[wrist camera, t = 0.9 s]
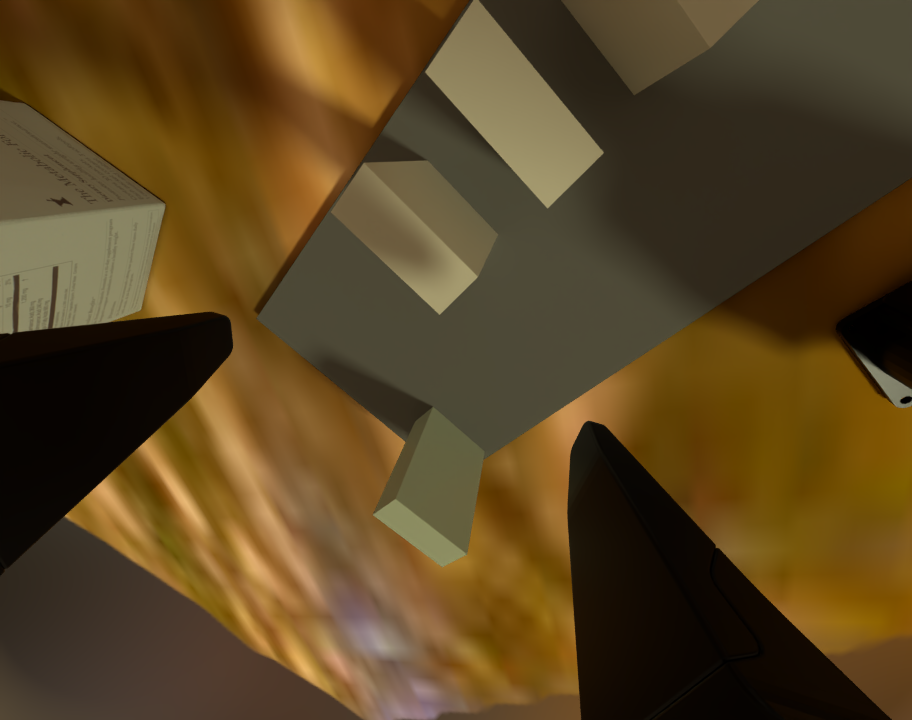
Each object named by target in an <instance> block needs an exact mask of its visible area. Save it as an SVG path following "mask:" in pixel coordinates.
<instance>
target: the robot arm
mask: <svg viewBox="0 0 912 720" xmlns="http://www.w3.org/2000/svg"><path fill="white" fill-rule="evenodd" d="M851 325H854V327H853V328H852V329H851V330H848V328H849V327H850V326H851ZM847 330H848V331H847ZM836 331H837V333H838V334H839V336H840V337H841V338H842V340H843V341H844V342H845V344H846V345H847V346H848V348H849V349H850V350H851V352H852V353H853V354H854V356H855V357H856V358H857V360H858V361H859V362H860V363H861V365H862V366H863V367H864V369H865V370H866V371H867V373H868V374H869V375H870V377H871V378H872V379H873V381H874V382H875V383H876V385H877V386H878V387H879V389H880V390H881V391H882V393H883V394H884V395H885V397H886V398H887V399H888V401H889V402H891V403H892V404H894V405H895V406H897V407H900V408H906V407H909V406H912V281H911V282H909V283H907V284H905V285H904V286H902V287H900V288H898V289H896V290H895V291H893V292H891V293H889V294H887V295H886V296H884V297H882V298H880V299H878V300H877V301H875V302H873V303H871V304H869V305H868V306H866V307H864V308H862V309H860V310H859V311H857V312H855V313H853V314H851V315H850V316H848V317H846V318H844V319H843V320H841V321H840V322H839V323H838V324H837V326H836ZM232 349H233V339H232V330H231V322H230V319H229V318H228V317H227V316H225V315H221V314H218V313H215V312H203V313H193V314H184V315H174V316H165V317H155V318H146V319H136V320H127V321H117V322H108V323H98V324H89V325H79V326H70V327H60V328H51V329H41V330H32V331H22V332H14V333H12V334H9V333H2V334H0V576H1V575H2V574H3V573H4V572H5V569H7V568H9V567H10V566H11V565H12V564H13V563H14V562H15V561H16V560H17V559H19V558H20V556H22V555H23V554H24V553H25V552H26V551H27V550H28V549H29V548H30V547H32V545H34V544H35V543H36V542H37V541H38V540H39V539H40V538H41V537H42V536H43V535H44V534H46V533H47V532H48V531H49V530H50V529H51V528H52V527H53V526H54V525H55V524H56V523H57V522H58V521H60V520H61V519H62V518H63V517H64V516H65V515H66V514H67V513H68V512H69V511H70V510H71V509H73V508H74V507H75V506H76V505H77V504H78V503H79V502H80V501H81V500H82V499H83V498H84V497H86V496H87V495H88V494H89V493H90V492H91V491H92V490H93V489H94V488H95V487H96V486H97V485H98V484H100V483H101V482H102V481H103V480H104V479H105V478H106V477H107V476H108V475H109V474H110V473H111V472H113V471H114V470H115V469H116V468H117V467H118V466H119V465H120V464H121V463H122V462H123V461H124V460H126V459H127V458H128V457H129V456H130V455H131V454H132V453H133V452H134V451H135V450H136V449H137V448H138V447H140V446H141V445H142V444H143V443H144V442H145V441H146V440H147V439H148V438H149V437H150V436H151V435H153V434H154V433H155V432H156V431H157V430H158V429H159V428H160V427H161V426H162V425H163V424H164V423H165V422H167V421H168V420H169V419H170V418H171V417H172V416H173V415H174V414H175V413H176V412H177V411H178V410H180V409H181V408H182V407H183V406H184V405H185V404H186V403H187V402H188V401H189V400H190V399H191V398H192V397H193V396H194V395H195V394H196V393H197V392H198V390H199V389H200V388H201V387H202V386H203V385H204V384H205V383H206V381H207V380H208V379H209V378H210V377H211V376H212V375H213V373H214V372H215V371H216V370H217V369H218V368H219V367H220V366H221V364H222V363H223V362H224V361H225V360H226V359H227V358H228V356H229V355H230V354H231V352H232ZM903 397H904V398H903ZM901 398H903V399H901ZM567 514H568V533H569V547H570V562H571V577H572V591H573V606H574V621H575V636H576V650H577V665H578V680H579V695H580V709H581V720H892V719H890V718H889V717H888V716H887V715H886V714H885V713H884V712H883V711H882V710H881V709H880V708H879V707H878V706H877V705H876V704H875V703H873V702H872V701H871V700H870V699H869V698H868V697H867V696H866V695H865V694H864V693H863V692H862V691H861V690H860V689H859V688H858V687H857V686H856V685H855V684H854V683H853V682H852V681H851V680H850V679H849V678H848V677H847V676H846V675H844V674H843V672H842V671H841V670H839V669H838V668H837V667H836V666H835V665H834V664H833V663H832V662H831V661H830V660H829V659H828V658H827V657H826V656H825V655H824V654H823V653H822V652H821V651H820V650H819V649H818V648H817V647H816V646H815V645H814V644H813V643H812V642H811V641H810V640H809V639H807V638H806V637H805V636H804V635H803V634H802V633H801V632H800V631H799V630H798V629H797V628H796V627H795V626H794V625H793V624H792V623H791V622H790V621H789V620H788V619H787V618H786V617H785V616H784V615H783V614H782V613H781V612H780V611H779V610H778V609H777V608H776V607H775V606H774V605H773V604H772V603H771V602H770V601H769V600H768V599H767V598H766V597H765V596H764V595H763V594H762V593H761V592H760V591H759V590H758V589H757V588H756V587H755V586H754V585H753V584H752V583H751V582H750V581H749V580H748V579H747V578H746V577H745V576H744V575H743V573H742V572H741V571H740V570H739V569H738V568H737V567H736V566H735V565H734V564H733V563H732V562H731V561H730V560H729V559H728V557H727V556H726V555H725V554H724V553H723V552H722V551H721V550H720V549H719V548H716V545H715V544H714V543H713V541H712V540H711V539H710V538H709V537H708V536H707V535H706V534H705V533H704V532H703V531H702V530H701V529H700V527H699V526H698V525H697V524H696V523H695V522H694V521H693V520H692V519H691V518H690V517H689V516H688V515H687V513H686V512H685V511H684V510H683V509H682V508H681V507H680V506H679V505H678V504H677V503H676V502H675V501H674V499H673V498H672V497H671V496H670V495H669V494H668V493H667V492H666V491H665V490H664V489H663V488H662V487H661V485H660V484H659V483H658V482H657V481H656V480H655V479H654V478H653V477H652V476H651V475H650V474H649V473H648V471H647V470H646V469H645V468H644V467H643V466H642V465H641V464H640V463H639V462H638V461H637V460H636V459H635V457H634V456H633V455H632V454H631V453H630V452H629V451H628V450H627V449H626V448H625V447H624V446H623V445H622V444H621V442H620V441H619V440H618V439H617V438H616V437H615V436H614V435H613V434H612V433H611V432H610V431H609V430H608V428H607V427H606V426H604V425H602V424H599V423H595V422H592V421H587V422H585V423H584V425H583V426H582V428H581V430H580V432H579V434H578V436H577V438H576V440H575V442H574V444H573V447H572V450H571V455H570V471H569V489H568V511H567Z"/></svg>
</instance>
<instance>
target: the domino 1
mask: <svg viewBox="0 0 912 720" xmlns="http://www.w3.org/2000/svg"><path fill="white" fill-rule="evenodd" d="M331 213H332V214H333V215H334V216H335V217H336V218H337V219H338V220H339V221H341V222H342V223H343V224H344V225H345V226H346V227H347V228H348V229H349V230H350V231H351V232H352V233H353V234H354V235H355V236H356V237H358V238H359V239H360V240H361V241H362V242H363V243H364V244H365V245H366V246H367V247H368V248H369V249H370V250H371V251H372V252H373V253H375V254H376V255H377V256H378V257H379V258H380V259H381V260H382V261H383V262H384V263H385V264H386V265H387V266H388V267H389V268H390V269H391V270H393V271H394V272H395V273H396V274H397V275H398V276H399V277H400V278H401V279H402V280H403V281H404V282H405V283H406V284H407V285H408V286H410V287H411V288H412V289H413V290H414V291H415V292H416V293H417V294H418V295H419V296H420V297H421V298H422V299H423V300H424V301H425V302H427V303H428V304H429V305H430V306H431V307H432V308H433V309H434V310H435V311H436V312H437V313H438V314H439V315H440V314H441V313H442V312H443V311H444V310H445V309H446V308H447V307H448V306H449V305H450V304H451V303H452V302H453V301H454V300H455V299H456V298H457V297H458V296H459V295H460V294H461V293H462V292H463V291H464V290H465V289H466V288H467V287H468V286H469V285H470V284H471V283H472V282H473V281H474V280H475V279H476V278H477V277H478V276H479V274H480V272H481V270H482V268H483V265H484V263H485V261H486V259H487V257H488V255H489V253H490V251H491V249H492V246H493V244H494V242H495V240H496V238H497V236H498V234H497V233H496V232H495V231H494V230H493V229H492V227H491V226H490V225H489V224H488V223H487V222H486V221H485V220H484V219H483V218H482V217H481V216H480V215H479V214H478V213H477V212H476V211H475V210H474V209H473V208H472V206H471V205H470V204H469V203H468V202H467V201H466V200H465V199H464V198H463V197H462V196H461V195H460V194H459V193H458V192H457V191H456V190H455V189H454V188H453V187H452V185H451V184H450V183H449V182H448V181H447V180H446V179H445V178H444V177H443V176H442V175H441V174H440V173H439V172H438V171H437V170H436V169H435V168H434V167H433V166H432V164H431V163H430V162H429V161H428V160H427V161H399V162H370V163H363V165H362V166H361V168H360V169H359V171H358V172H357V174H356V175H355V177H354V178H353V180H352V181H351V183H350V184H349V186H348V187H347V188H346V190H345V191H344V193H343V194H342V196H341V197H340V199H339V200H338V202H337V203H336V205H335V206H334V208H333V209H332V211H331Z"/></svg>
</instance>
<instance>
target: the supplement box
mask: <svg viewBox="0 0 912 720" xmlns="http://www.w3.org/2000/svg"><path fill="white" fill-rule="evenodd" d="M164 210H165V203H163V202H162V201H161V200H159V199H158V198H156V197H155V196H154V195H152V194H151V193H149V192H148V191H147V190H145V189H144V188H142V187H141V186H140V185H138V184H137V183H135V182H134V181H133V180H131V179H130V178H128V177H127V176H126V175H124V174H123V173H121V172H120V171H119V170H117V169H116V168H115V167H113V166H112V165H110V164H109V163H108V162H106V161H105V160H103V159H102V158H101V157H99V156H98V155H96V154H95V153H94V152H92V151H91V150H89V149H88V148H87V147H85V146H84V145H82V144H81V143H80V142H78V141H77V140H75V139H74V138H73V137H71V136H70V135H69V134H67V133H66V132H64V131H63V130H62V129H60V128H59V127H57V126H56V125H55V124H53V123H52V122H50V121H49V120H48V119H46V118H45V117H43V116H42V115H41V114H39V113H38V112H36V111H35V110H34V109H32V108H31V107H29V106H28V105H26V104H25V103H17V102H9V101H2V100H0V334H2V333H9V334H12V333H14V332H22V331H32V330H41V329H51V328H60V327H70V326H79V325H89V324H98V323H108V322H111V321H113V320H116V319H118V318H121V317H124V316H127V315H129V314H132V313H135V312H137V311H140V310H141V308H142V303H143V299H144V295H145V290H146V286H147V282H148V278H149V273H150V269H151V265H152V260H153V256H154V252H155V247H156V243H157V239H158V235H159V231H160V226H161V222H162V218H163V214H164Z"/></svg>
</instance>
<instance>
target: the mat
mask: <svg viewBox="0 0 912 720" xmlns="http://www.w3.org/2000/svg"><path fill="white" fill-rule="evenodd" d="M479 1H480V3H481V4H482V5H483V6H484V8H485V9H486V10H487V11H488V12H489V14H490V15H491V16H492V17H493V18H494V20H495V21H496V22H497V23H498V25H499V26H500V27H501V28H502V29H503V31H504V32H505V33H506V34H507V36H508V37H509V38H510V39H511V40H512V42H513V43H514V44H515V45H516V46H517V48H518V49H519V50H520V51H521V53H522V54H523V55H524V56H525V57H526V59H527V60H528V61H529V62H530V63H531V65H532V66H533V67H534V68H535V70H536V71H537V72H538V73H539V74H540V76H541V77H542V78H543V79H544V81H545V82H546V83H547V84H548V85H549V87H550V88H551V89H552V90H553V91H554V93H555V94H556V95H557V96H558V98H559V99H560V100H561V101H562V102H563V104H564V105H565V106H566V107H567V108H568V110H569V111H570V112H571V113H572V115H573V116H574V117H575V118H576V119H577V121H578V122H579V123H580V124H581V126H582V127H583V128H584V129H585V130H586V132H587V133H588V134H589V135H590V136H591V138H592V139H593V140H594V141H595V143H596V144H597V145H598V146H599V147H600V149H601V150H602V151H603V152H604V153H603V154H602V155H601V156H600V157H599V158H598V159H597V160H596V161H595V162H594V163H593V164H592V165H591V166H590V167H589V168H588V169H587V170H586V171H585V172H584V173H583V174H582V175H581V176H580V177H579V178H578V179H577V180H576V181H575V182H574V183H573V184H572V185H571V186H570V187H569V188H568V189H567V190H566V191H565V192H564V193H563V194H562V195H561V196H560V197H559V198H558V199H557V200H556V201H555V202H554V203H553V204H552V205H551V206H550V207H549V208H547V207H546V206H545V205H544V204H543V203H542V202H541V201H540V200H539V199H538V197H537V196H536V195H535V194H534V193H533V192H532V191H531V190H530V188H529V187H528V186H527V185H526V184H525V183H524V182H523V181H522V180H521V178H520V177H519V176H518V175H517V174H516V173H515V172H514V171H513V170H512V168H511V167H510V166H509V165H508V164H507V163H506V162H505V161H504V160H503V158H502V157H501V156H500V155H499V154H498V153H497V152H496V151H495V149H494V148H493V147H492V146H491V145H490V144H489V143H488V142H487V141H486V139H485V138H484V137H483V136H482V135H481V134H480V133H479V132H478V131H477V129H476V128H475V127H474V126H473V125H472V124H471V123H470V122H469V121H468V119H467V118H466V117H465V116H464V115H463V114H462V113H461V112H460V111H459V109H458V108H457V107H456V106H455V105H454V104H453V103H452V102H451V100H450V99H449V98H448V97H447V96H446V95H445V94H444V93H443V92H442V90H441V89H440V88H439V87H438V86H437V85H436V84H435V83H434V82H433V80H432V79H431V78H430V77H429V76H428V75H427V74H426V73H425V71H426V70H427V68H428V67H429V65H430V64H431V62H432V61H433V60H434V58H435V57H436V55H437V54H438V52H439V51H440V49H441V48H442V46H443V45H444V43H445V42H446V40H447V39H448V37H449V36H450V34H451V33H452V31H453V30H454V28H455V27H456V25H457V24H458V22H459V21H460V20H461V18H462V17H463V15H464V14H465V12H466V11H467V9H468V8H469V6H470V5H471V3H472V2H473V0H470V1H469V2H468V4H467V5H466V7H465V8H464V10H463V11H462V13H461V14H460V16H459V17H458V19H457V20H456V22H455V23H454V25H453V26H452V28H451V29H450V31H449V32H448V34H447V35H446V37H445V38H444V40H443V41H442V43H441V44H440V46H439V47H438V49H437V50H436V52H435V53H434V55H433V56H432V58H431V59H430V61H429V62H428V64H427V65H426V66H425V68H424V69H423V71H422V72H421V74H420V75H419V77H418V78H417V80H416V81H415V83H414V84H413V86H412V87H411V89H410V90H409V92H408V93H407V95H406V96H405V98H404V99H403V101H402V102H401V104H400V105H399V107H398V108H397V110H396V111H395V113H394V114H393V116H392V117H391V119H390V120H389V122H388V123H387V125H386V126H385V128H384V129H383V131H382V132H381V134H380V135H379V137H378V138H377V140H376V141H375V143H374V144H373V146H372V147H371V149H370V150H369V152H368V153H367V154H366V156H365V157H364V159H363V160H362V162H361V163H360V165H359V166H358V168H357V169H356V171H355V172H354V174H353V175H352V177H351V178H350V180H349V181H348V183H347V184H346V186H345V187H344V189H343V190H342V192H341V193H340V195H339V196H338V198H337V199H336V201H335V202H334V204H333V205H332V207H331V208H330V210H329V211H328V213H327V214H326V216H325V217H324V219H323V220H322V222H321V223H320V225H319V226H318V228H317V229H316V231H315V232H314V234H313V235H312V237H311V238H310V240H309V241H308V242H307V244H306V245H305V247H304V248H303V250H302V251H301V253H300V254H299V256H298V257H297V259H296V260H295V262H294V263H293V265H292V266H291V268H290V269H289V271H288V272H287V274H286V275H285V277H284V278H283V280H282V281H281V283H280V284H279V286H278V287H277V289H276V290H275V292H274V293H273V295H272V296H271V298H270V299H269V301H268V302H267V304H266V305H265V307H264V308H263V310H262V311H261V313H260V314H259V316H258V317H257V319H258V320H259V321H260V322H261V323H262V324H264V325H265V326H266V327H267V328H268V329H270V330H271V331H272V332H273V333H274V334H276V335H277V336H278V337H279V338H281V339H282V340H283V341H284V342H285V343H287V344H288V345H289V346H290V347H291V348H293V349H294V350H295V351H296V352H298V353H299V354H300V355H301V356H302V357H304V358H305V359H306V360H307V361H308V362H310V363H311V364H312V365H313V366H314V367H316V368H317V369H318V370H319V371H321V372H322V373H323V374H324V375H325V376H327V377H328V378H329V379H330V380H331V381H333V382H334V383H335V384H336V385H338V386H339V387H340V388H341V389H342V390H344V391H345V392H346V393H347V394H348V395H350V396H351V397H352V398H353V399H354V400H356V401H357V402H358V403H359V404H361V405H362V406H363V407H364V408H365V409H367V410H368V411H369V412H370V413H371V414H373V415H374V416H375V417H376V418H377V419H379V420H380V421H381V422H382V423H384V424H385V425H386V426H387V427H388V428H390V429H391V430H392V431H393V432H394V433H396V434H397V435H398V436H399V437H401V438H402V439H403V440H404V441H405V442H406V440H407V438H408V436H409V434H410V432H411V429H412V427H413V425H414V423H415V421H416V420H418V419H419V418H420V417H421V416H422V415H424V414H425V413H426V412H427V411H429V410H430V409H431V408H432V407H434V408H435V409H436V410H438V411H439V412H440V413H441V414H442V415H443V416H444V417H446V418H447V419H448V420H449V421H450V422H451V423H453V424H454V425H455V426H456V427H457V428H458V429H459V430H461V431H462V432H463V433H464V434H465V435H466V436H467V437H469V438H470V439H471V440H472V441H473V442H474V443H476V444H477V445H478V446H479V447H480V448H481V449H482V450H484V451H485V452H484V458H483V460H484V459H485V458H487V457H488V456H490V455H491V454H493V453H494V452H496V451H497V450H499V449H501V448H502V447H504V446H505V445H507V444H508V443H510V442H511V441H513V440H514V439H516V438H517V437H519V436H520V435H522V434H523V433H525V432H526V431H528V430H529V429H531V428H532V427H534V426H535V425H537V424H538V423H540V422H541V421H543V420H545V419H546V418H548V417H549V416H551V415H552V414H554V413H555V412H557V411H558V410H560V409H561V408H563V407H564V406H566V405H567V404H569V403H570V402H572V401H573V400H575V399H576V398H578V397H579V396H581V395H582V394H584V393H586V392H587V391H589V390H590V389H592V388H593V387H595V386H596V385H598V384H599V383H601V382H602V381H604V380H605V379H607V378H608V377H610V376H611V375H613V374H614V373H616V372H617V371H619V370H620V369H622V368H623V367H625V366H626V365H628V364H630V363H631V362H633V361H634V360H636V359H637V358H639V357H640V356H642V355H643V354H645V353H646V352H648V351H649V350H651V349H652V348H654V347H655V346H657V345H658V344H660V343H661V342H663V341H664V340H666V339H667V338H669V337H671V336H672V335H674V334H675V333H677V332H678V331H680V330H681V329H683V328H684V327H686V326H687V325H689V324H690V323H692V322H693V321H695V320H696V319H698V318H699V317H701V316H702V315H704V314H705V313H707V312H708V311H710V310H711V309H713V308H715V307H716V306H718V305H719V304H721V303H722V302H724V301H725V300H727V299H728V298H730V297H731V296H733V295H734V294H736V293H737V292H739V291H740V290H742V289H743V288H745V287H746V286H748V285H749V284H751V283H752V282H754V281H756V280H757V279H759V278H760V277H762V276H763V275H765V274H766V273H768V272H769V271H771V270H772V269H774V268H775V267H777V266H778V265H780V264H781V263H783V262H784V261H786V260H787V259H789V258H790V257H792V256H793V255H795V254H796V253H798V252H800V251H801V250H803V249H804V248H806V247H807V246H809V245H810V244H812V243H813V242H815V241H816V240H818V239H819V238H821V237H822V236H824V235H825V234H827V233H828V232H830V231H831V230H833V229H834V228H836V227H837V226H839V225H841V224H842V223H844V222H845V221H847V220H848V219H850V218H851V217H853V216H854V215H856V214H857V213H859V212H860V211H862V210H863V209H865V208H866V207H868V206H869V205H871V204H872V203H874V202H875V201H877V200H878V199H880V198H881V197H883V196H885V195H886V194H888V193H889V192H891V191H892V190H894V189H895V188H897V187H898V186H900V185H901V184H903V183H904V182H906V181H907V180H909V179H910V178H912V0H759V1H758V2H757V3H756V4H755V5H753V6H752V7H751V8H750V9H749V10H748V11H747V12H746V13H745V14H744V15H743V16H742V17H741V18H740V19H739V20H738V21H737V22H736V23H735V24H734V25H733V26H732V27H731V28H730V29H729V30H728V31H727V32H726V33H725V34H724V35H723V36H722V37H721V38H720V39H719V40H718V41H717V42H716V43H715V44H714V45H713V46H712V47H711V48H710V49H708V50H706V51H705V52H703V53H702V54H700V55H698V56H697V57H695V58H694V59H692V60H690V61H689V62H687V63H685V64H684V65H682V66H681V67H679V68H677V69H676V70H674V71H673V72H671V73H669V74H668V75H666V76H664V77H663V78H661V79H660V80H658V81H656V82H655V83H653V84H652V85H650V86H648V87H647V88H645V89H643V90H642V91H640V92H639V93H637V94H635V95H633V93H632V92H631V91H630V89H629V88H628V87H627V85H626V84H625V83H624V82H623V80H622V79H621V78H620V76H619V75H618V74H617V72H616V71H615V70H614V69H613V67H612V66H611V65H610V63H609V62H608V61H607V59H606V58H605V57H604V56H603V54H602V53H601V52H600V50H599V49H598V48H597V46H596V45H595V44H594V43H593V41H592V40H591V39H590V37H589V36H588V35H587V33H586V32H585V31H584V30H583V28H582V27H581V26H580V24H579V23H578V22H577V20H576V19H575V18H574V17H573V15H572V14H571V13H570V11H569V10H568V9H567V7H566V6H565V5H564V4H563V2H562V1H561V0H479ZM427 160H428V161H429V162H430V163H431V164H432V166H433V167H434V168H435V169H436V170H437V171H438V172H439V173H440V174H441V175H442V176H443V177H444V178H445V179H446V180H447V181H448V182H449V183H450V184H451V185H452V187H453V188H454V189H455V190H456V191H457V192H458V193H459V194H460V195H461V196H462V197H463V198H464V199H465V200H466V201H467V202H468V203H469V204H470V205H471V206H472V208H473V209H474V210H475V211H476V212H477V213H478V214H479V215H480V216H481V217H482V218H483V219H484V220H485V221H486V222H487V223H488V224H489V225H490V226H491V227H492V229H493V230H494V231H495V232H496V233H497V234H498V236H497V238H496V240H495V242H494V244H493V246H492V249H491V251H490V253H489V255H488V257H487V259H486V261H485V263H484V265H483V268H482V270H481V272H480V274H479V276H478V277H477V278H476V279H475V280H474V281H473V282H472V283H471V284H470V285H469V286H468V287H467V288H466V289H465V290H464V291H463V292H462V293H461V294H460V295H459V296H458V297H457V298H456V299H455V300H454V301H453V302H452V303H451V304H450V305H449V306H448V307H447V308H446V309H445V310H444V311H443V312H442V313H441V314H440V315H439V314H438V313H437V312H436V311H435V310H434V309H433V308H432V307H431V306H430V305H429V304H428V303H427V302H425V301H424V300H423V299H422V298H421V297H420V296H419V295H418V294H417V293H416V292H415V291H414V290H413V289H412V288H411V287H410V286H408V285H407V284H406V283H405V282H404V281H403V280H402V279H401V278H400V277H399V276H398V275H397V274H396V273H395V272H394V271H393V270H391V269H390V268H389V267H388V266H387V265H386V264H385V263H384V262H383V261H382V260H381V259H380V258H379V257H378V256H377V255H376V254H375V253H373V252H372V251H371V250H370V249H369V248H368V247H367V246H366V245H365V244H364V243H363V242H362V241H361V240H360V239H359V238H358V237H356V236H355V235H354V234H353V233H352V232H351V231H350V230H349V229H348V228H347V227H346V226H345V225H344V224H343V223H342V222H341V221H339V220H338V219H337V218H336V217H335V216H334V215H333V214H332V213H331V211H332V209H333V208H334V206H335V205H336V203H337V202H338V200H339V199H340V197H341V196H342V194H343V193H344V191H345V190H346V188H347V187H348V186H349V184H350V183H351V181H352V180H353V178H354V177H355V175H356V174H357V172H358V171H359V169H360V168H361V166H362V165H363V163H370V162H399V161H427Z"/></svg>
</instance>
